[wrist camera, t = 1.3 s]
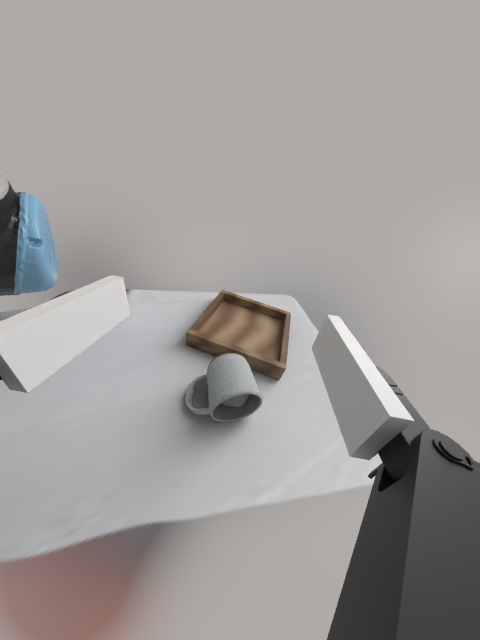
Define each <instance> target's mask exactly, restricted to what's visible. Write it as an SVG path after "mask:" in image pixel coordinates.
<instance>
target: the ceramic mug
mask: <svg viewBox="0 0 480 640" xmlns="http://www.w3.org/2000/svg"><path fill="white" fill-rule="evenodd" d="M206 381H207V385H208V399H209V407H208V408H205V409H198V408H194V407H193V406H192V397H193V394H194V389H195V388H196V387H197V386H198V385H200V384H201V383H203V382H206ZM185 401H186V405H187V407H188V408H189V409H190V410H191V411H192V412H193V413H195V414H198V415H208V414H210V416H211V418H212V419H214V420H216V421H220V422H230V421H236V420H239V419H243V418H245V417H247V416H249V415H251V414H253V413H254V412H255V411H256V410H257V409H258V408H259V407H260V406H261V404H262V395H261V393H260V391H259V388H258V386H257V383H256V381H255V378H254V376H253V374H252V371H251V369H250V366H249V364H248V362H247V361H246V359H245V358H244V357H243V356H242V355H240V354H237V353H226V354H222V355H220V356H218V357H216V358H215V359H213V360H212V361H211V362H210V364H209V366H208V369H207V375H203V376H201V377H199V378H197V379H195V380H194V381H193V382H192V383H191V384H190V385H189V387H188V389H187V391H186V396H185Z"/></svg>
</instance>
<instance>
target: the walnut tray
mask: <svg viewBox="0 0 480 640" xmlns="http://www.w3.org/2000/svg"><path fill="white" fill-rule="evenodd" d="M290 318H291V313H289V312H286V311H283V310H280V309H277V308H275V307H272V306H269V305H266V304H263V303H260V302H257V301H254V300H251V299H248V298H245V297H242V296H239V295H236V294H233V293H230V292H227V291H224V290H222V291H221V292H220V293H219V295H218V296H217V297H216V298H215V299H214V301H213V302H212V303H211V304H210V305H209V307H208V308H207V309H206V310H205V311H204V313H203V314H202V315H201V316H200V317H199V319H198V320H197V321H196V322H195V323H194V325H193V326H192V327H191V328H190V329H189V331H188V332H187V340H186V345H188V346H191V347H193V348H196V349H199V350H201V351H204V352H207V353H209V354H212V355H215V356H217V357H218V356H220V355H222V354H226V353H237V354H240V355H242V356H243V357H244V358H245V359H246V361H247V362H248V364H249V366H250V369H252V370H254V371H257V372H260V373H262V374H265V375H268V376H270V377H273V378H276V379H278V380H279V379H280V378H281V376H282V374H283V373H284V371H285V369H286V361H287V350H288V340H289V329H290Z"/></svg>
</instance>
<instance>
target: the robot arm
mask: <svg viewBox="0 0 480 640" xmlns="http://www.w3.org/2000/svg"><path fill="white" fill-rule="evenodd" d="M56 281H57V261H56V254H55V247H54V242H53V236H52V232H51V228H50V224H49V220H48V217H47V214H46V211H45V208H44V206H43V204H42V203H41V201H40V200H39V199H38V198H37V197H35V196H33V195H29V194H27V193H25V192H18V193H15V192H14V190H13V189H12V187H11V185H10V183H9V182H8V180H7V178H6V176H5V175H4V173H3V171H2V170H1V169H0V296H1V295H19V294H21V293H30V292H39V291H46V290H48V289H50V288H52V287H53V286H54V285H55V283H56ZM129 315H130V310H129V305H128V300H127V295H126V290H125V285H124V280H123V277H118V276H113V275H111V276H108V277H106V278H104V279H101V280H99V281H96V282H94V283H92V284H89V285H87V286H84V287H82V288H79V289H77V290H75V291H72V292H70V293H67V294H65V295H63V296H60V297H58V298H55V299H53V300H51V301H48V302H46V303H43V304H41V305H39V306H36V307H34V308H31V309H29V310H26V311H24V312H22V313H19V314H17V315H14V316H12V317H10V318H7V319H5V320H2V321H0V380H3V381H4V382H5V384H6V385H7V386H8V387H9V389H11V390H16V391H21V392H26V393H29V392H30V391H31V390H32V389H34V388H35V387H36V386H38V385H39V384H40V383H42V382H43V381H44V380H45V379H47V378H48V377H49V376H51V375H52V374H53V373H55V372H56V371H57V370H59V369H60V368H61V367H62V366H64V365H65V364H66V363H68V362H69V361H70V360H72V359H73V358H74V357H75V356H77V355H78V354H79V353H81V352H82V351H83V350H85V349H86V348H87V347H88V346H90V345H91V344H92V343H94V342H95V341H96V340H98V339H99V338H100V337H101V336H103V335H104V334H105V333H107V332H108V331H109V330H111V329H112V328H113V327H115V326H116V325H117V324H118V323H120V322H121V321H122V320H124V319H125V318H126V317H128V316H129ZM312 350H313V353H314V356H315V359H316V362H317V365H318V367H319V370H320V373H321V376H322V379H323V382H324V384H325V387H326V390H327V393H328V396H329V399H330V401H331V404H332V407H333V410H334V413H335V416H336V418H337V421H338V424H339V427H340V430H341V433H342V435H343V438H344V441H345V444H346V447H347V450H348V452H349V455H350V456H351V457H356V458H361V459H366V460H370V459H371V458H373V457H374V456H375V455H376V454H377V453H379V456H380V458H381V460H382V462H383V463H382V464H381V465H379V466H378V467H377V468H376V469H374V470H373V471H372V472H371V473H370V474H369V475H368V477H369V478H370V479H371V478H373V477H374V476H376V477H375V480H374V484H373V487H372V490H371V494H370V497H369V501H368V504H367V507H366V511H365V514H364V517H363V521H362V524H361V527H360V531H359V534H358V537H357V541H356V544H355V548H354V551H353V554H352V557H351V561H350V564H349V568H348V571H347V574H346V578H345V581H344V584H343V588H342V591H341V594H340V598H339V601H338V604H337V608H336V611H335V614H334V618H333V621H332V624H331V628H330V631H329V634H328V638H327V640H480V463H478V462H476V461H474V460H473V459H472V458H471V456H470V455H469V454H468V453H467V452H466V451H465V450H464V449H463V448H462V447H461V446H460V445H459V444H458V443H456V442H455V441H453V440H452V439H451V438H449V437H448V436H446V435H444V434H442V433H440V432H438V431H434V430H431V429H430V428H429V426H428V425H427V424H426V422H425V421H424V420H423V419H422V417H421V416H420V415H419V413H418V412H417V411H416V409H415V408H414V407H413V406H412V404H411V403H410V402H409V400H408V399H407V398H406V396H404V395H403V393H402V391H401V390H400V389H399V388H397V385H396V383H395V382H394V381H393V380H392V378H391V377H390V376H389V375H388V374H387V373H386V372H384V371H383V370H382V369H381V368H380V367H376V366H375V365H374V364H373V363H372V361H371V360H370V359H369V357H368V356H367V354H366V353H365V352H364V351H363V349H362V347H361V346H360V345H359V343H358V342H357V341H356V339H355V338H354V336H353V335H352V334H351V332H350V331H349V329H348V328H347V327H346V325H345V324H344V323H343V321H342V320H341V318H340V317H338V316H332V315H327V316H326V318H325V320H324V323H323V325H322V327H321V329H320V331H319V333H318V335H317V338H316V340H315V342H314V344H313V346H312Z"/></svg>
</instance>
